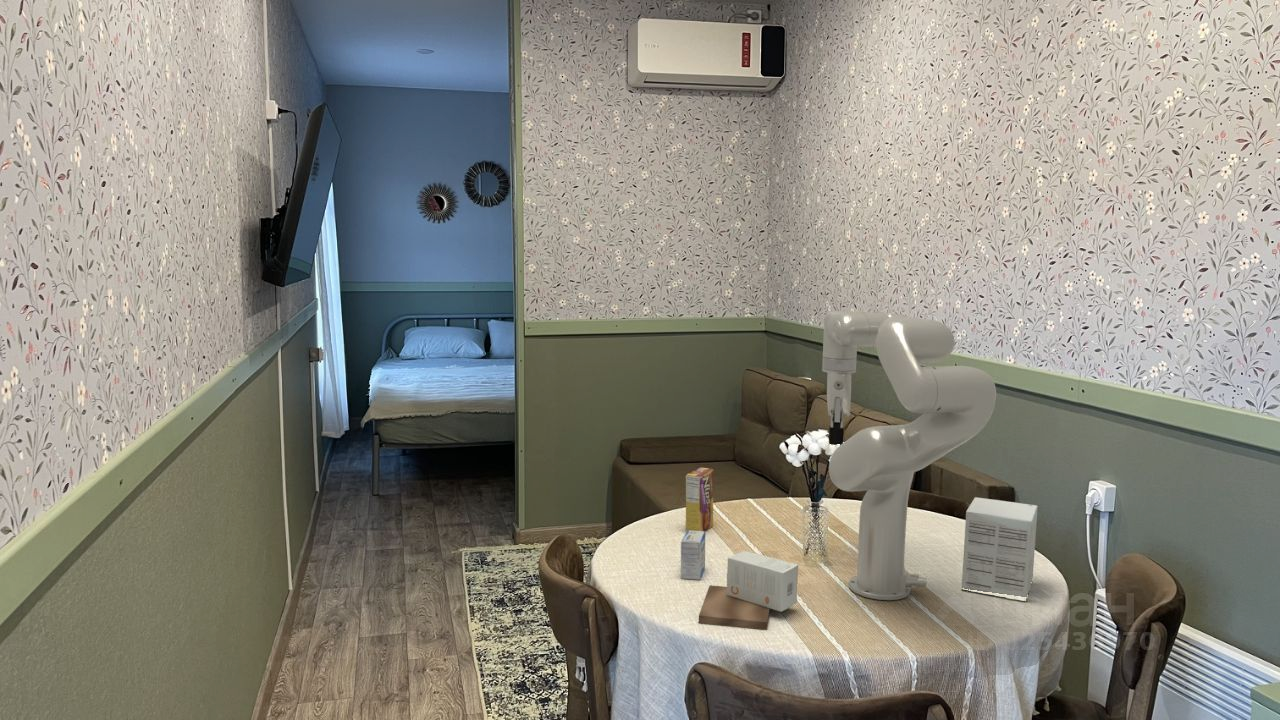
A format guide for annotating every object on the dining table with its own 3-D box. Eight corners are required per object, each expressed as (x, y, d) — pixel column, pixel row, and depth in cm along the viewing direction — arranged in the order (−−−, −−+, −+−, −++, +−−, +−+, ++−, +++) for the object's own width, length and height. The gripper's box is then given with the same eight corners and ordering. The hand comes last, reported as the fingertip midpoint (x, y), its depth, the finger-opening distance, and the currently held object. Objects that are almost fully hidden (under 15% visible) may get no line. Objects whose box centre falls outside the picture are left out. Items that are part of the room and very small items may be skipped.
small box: (799, 564, 178) (743, 549, 186) (783, 573, 173) (726, 557, 182) (797, 603, 179) (742, 586, 188) (781, 613, 174) (725, 595, 183)
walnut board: (772, 597, 186) (772, 590, 185) (766, 629, 170) (767, 622, 170) (709, 592, 188) (709, 585, 188) (698, 623, 173) (698, 615, 173)
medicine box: (700, 580, 195) (701, 542, 194) (680, 579, 196) (680, 540, 194) (705, 568, 202) (706, 531, 201) (685, 566, 203) (686, 529, 202)
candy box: (698, 523, 235) (699, 466, 233) (713, 526, 233) (715, 468, 231) (684, 533, 227) (685, 474, 225) (699, 536, 225) (701, 476, 223)
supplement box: (969, 571, 203) (974, 496, 200) (1033, 582, 196) (1038, 504, 194) (959, 591, 191) (964, 511, 189) (1027, 603, 185) (1033, 520, 183)
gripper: (857, 370, 197) (853, 452, 199) (855, 361, 211) (851, 438, 214) (822, 368, 198) (818, 450, 201) (822, 360, 213) (819, 436, 215)
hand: (835, 444), depth 207 cm, fingers closed
